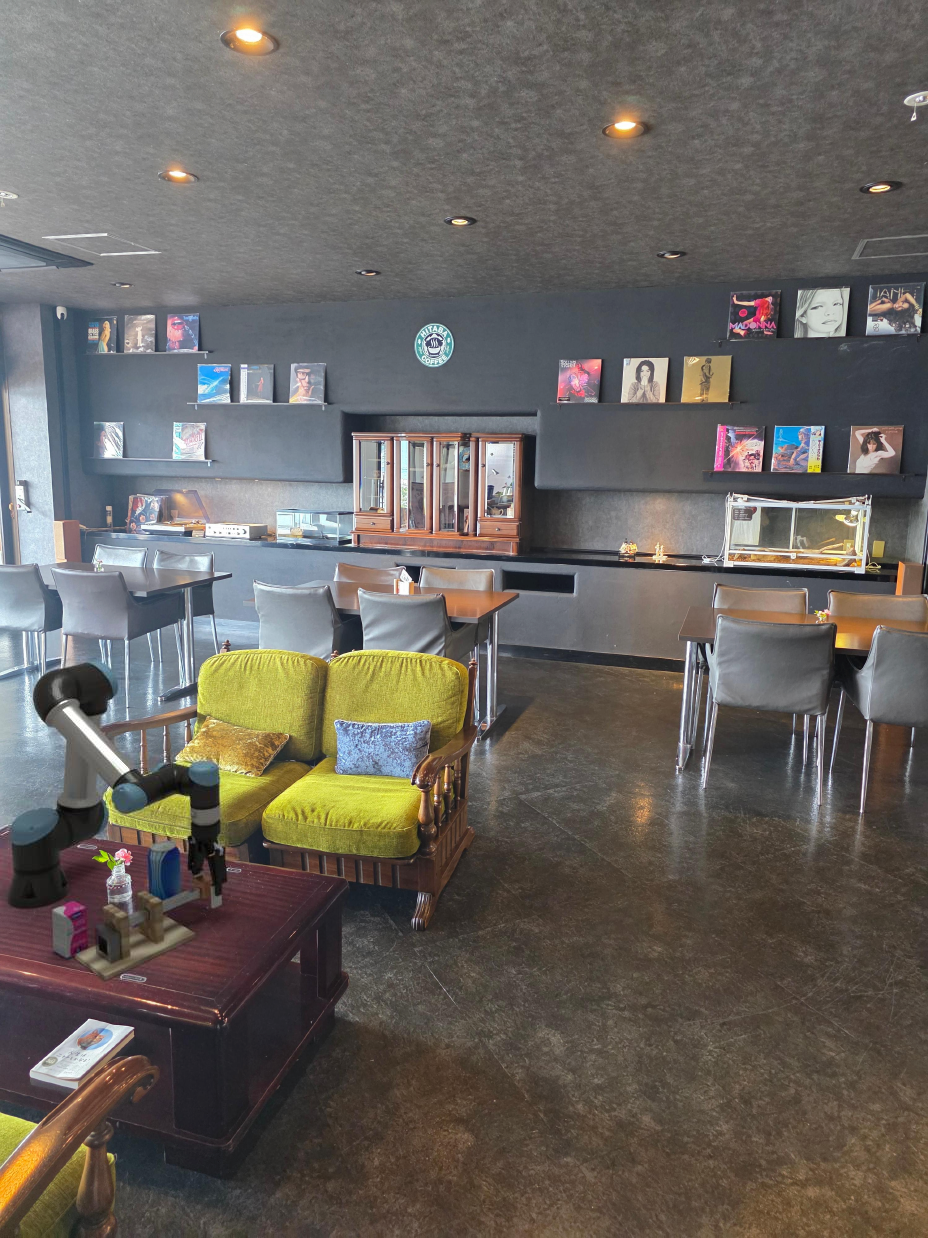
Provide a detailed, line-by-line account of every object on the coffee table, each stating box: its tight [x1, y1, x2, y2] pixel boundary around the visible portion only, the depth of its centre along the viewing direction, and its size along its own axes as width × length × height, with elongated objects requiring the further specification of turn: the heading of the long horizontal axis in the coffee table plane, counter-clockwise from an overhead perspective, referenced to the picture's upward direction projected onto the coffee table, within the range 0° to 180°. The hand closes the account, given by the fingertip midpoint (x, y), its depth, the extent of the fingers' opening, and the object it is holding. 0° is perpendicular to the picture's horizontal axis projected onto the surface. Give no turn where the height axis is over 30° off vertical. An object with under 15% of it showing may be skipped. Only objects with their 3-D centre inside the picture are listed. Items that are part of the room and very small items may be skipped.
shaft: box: [128, 873, 213, 928], centre depth 209 cm, size 4×23×4 cm, turn 142°
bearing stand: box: [74, 890, 196, 982], centre depth 202 cm, size 14×24×12 cm, turn 142°
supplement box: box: [51, 900, 89, 960], centre depth 200 cm, size 6×6×12 cm
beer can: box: [147, 840, 182, 901], centre depth 226 cm, size 8×8×16 cm
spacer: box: [94, 922, 121, 964], centre depth 196 cm, size 7×2×7 cm, turn 52°
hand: (207, 901), depth 219 cm, fingers open, 7 cm apart
